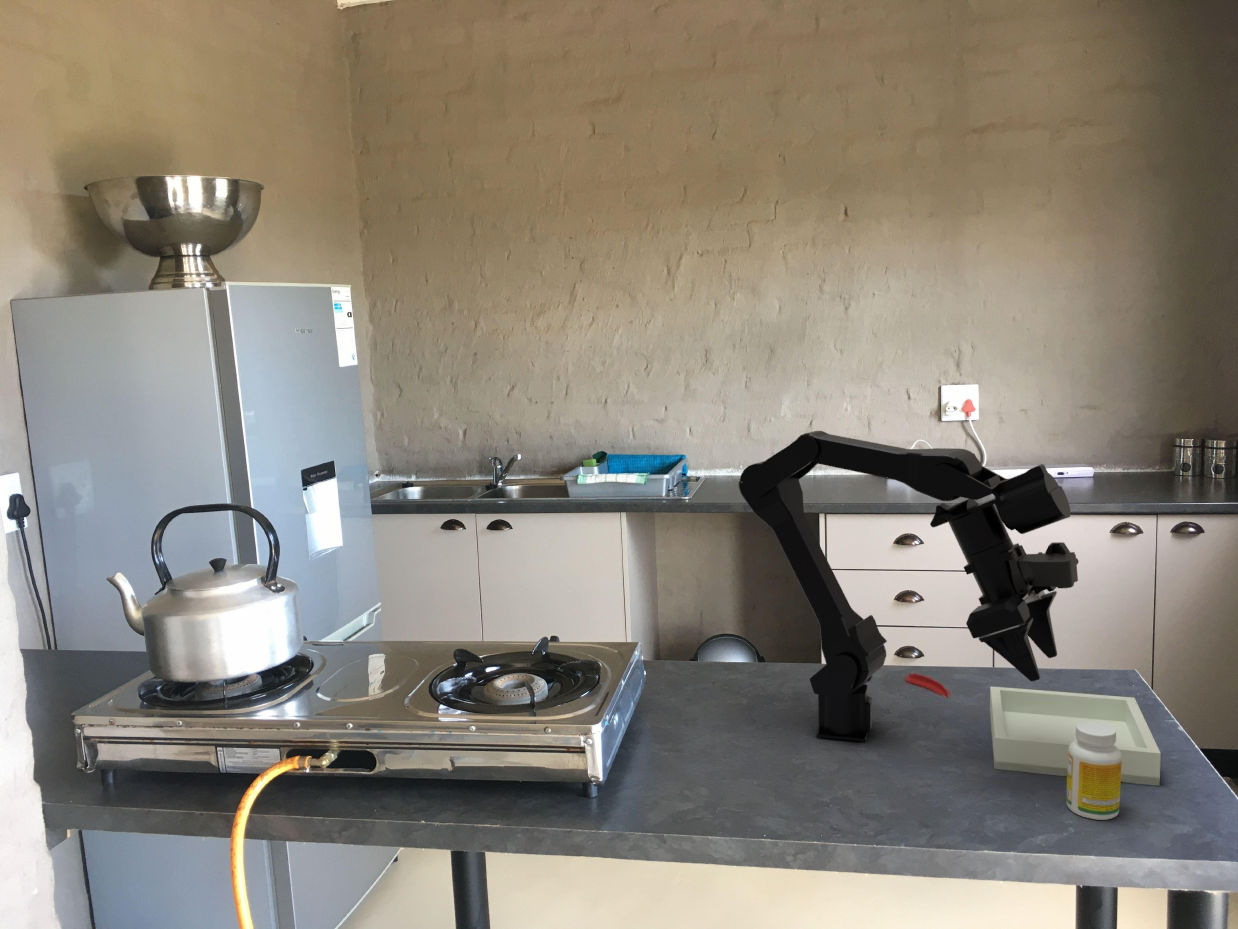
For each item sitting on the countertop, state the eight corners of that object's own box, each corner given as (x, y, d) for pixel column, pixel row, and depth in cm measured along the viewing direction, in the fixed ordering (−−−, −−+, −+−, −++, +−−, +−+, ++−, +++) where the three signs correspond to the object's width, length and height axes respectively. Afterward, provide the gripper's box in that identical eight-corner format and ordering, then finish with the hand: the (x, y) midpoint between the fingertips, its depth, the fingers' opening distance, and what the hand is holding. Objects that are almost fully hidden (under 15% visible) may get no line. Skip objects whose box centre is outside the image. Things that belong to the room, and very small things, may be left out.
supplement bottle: (1055, 803, 111) (1057, 723, 110) (1092, 794, 113) (1094, 715, 112) (1093, 825, 106) (1096, 741, 105) (1131, 815, 108) (1134, 732, 107)
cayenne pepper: (897, 676, 155) (897, 664, 154) (926, 674, 155) (926, 662, 155) (925, 704, 143) (925, 691, 142) (956, 702, 143) (957, 690, 143)
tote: (994, 768, 120) (995, 737, 120) (989, 713, 137) (990, 686, 137) (1159, 786, 115) (1160, 753, 114) (1133, 726, 131) (1134, 697, 131)
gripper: (1033, 539, 107) (1098, 674, 105) (1068, 510, 122) (1126, 627, 120) (940, 572, 113) (1000, 700, 111) (984, 541, 128) (1037, 653, 126)
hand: (1044, 668), depth 117 cm, fingers open, 9 cm apart
